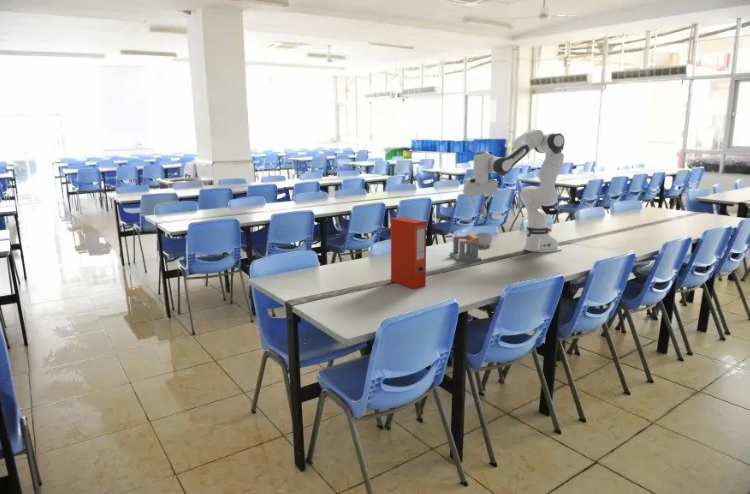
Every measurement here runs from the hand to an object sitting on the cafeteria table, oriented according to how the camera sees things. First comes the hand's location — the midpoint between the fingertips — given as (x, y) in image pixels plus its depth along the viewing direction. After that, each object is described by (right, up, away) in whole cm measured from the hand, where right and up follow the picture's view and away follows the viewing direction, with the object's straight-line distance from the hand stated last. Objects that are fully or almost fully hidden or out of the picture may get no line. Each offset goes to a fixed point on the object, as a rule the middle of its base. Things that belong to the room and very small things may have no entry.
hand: (480, 202), depth 313 cm
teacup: (+6, -26, +27) cm, 38 cm away
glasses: (-9, -23, -5) cm, 25 cm away
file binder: (-46, -45, -54) cm, 84 cm away
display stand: (-9, -33, -3) cm, 34 cm away
